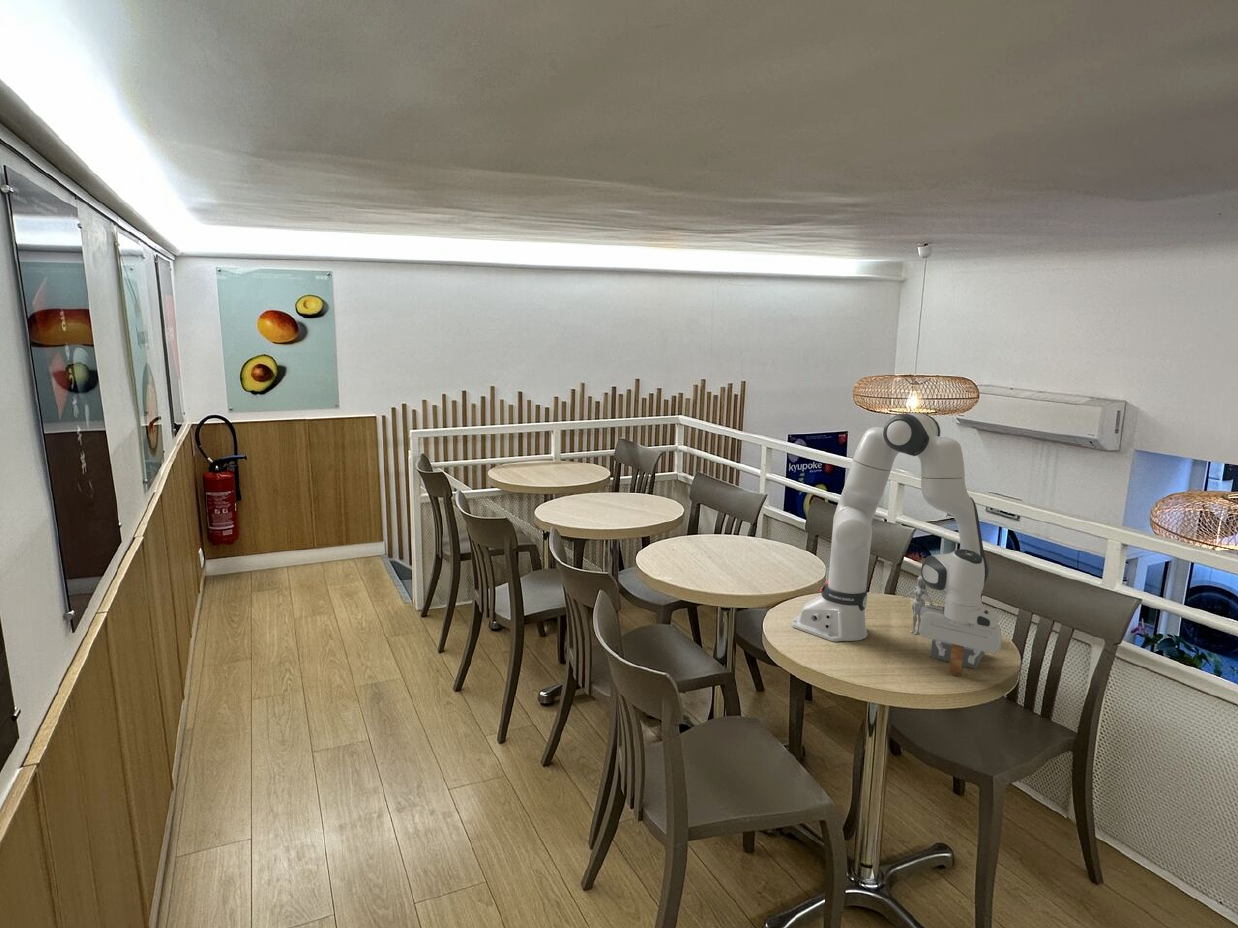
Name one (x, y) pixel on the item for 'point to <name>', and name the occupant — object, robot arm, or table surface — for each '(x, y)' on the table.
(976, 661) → the slate-grey hole block
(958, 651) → the orange peg
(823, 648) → the table surface
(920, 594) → the human figurine
